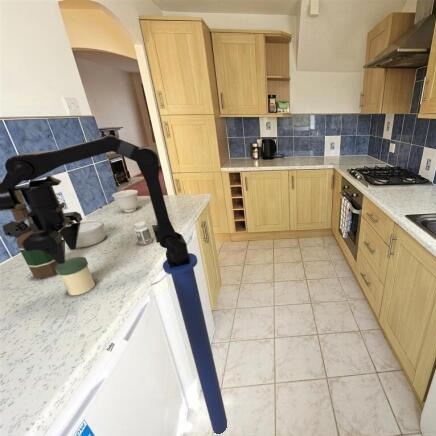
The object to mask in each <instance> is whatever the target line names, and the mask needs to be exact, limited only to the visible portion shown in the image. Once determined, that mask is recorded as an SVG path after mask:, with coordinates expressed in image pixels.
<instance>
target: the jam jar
mask: <svg viewBox="0 0 436 436" xmlns="http://www.w3.org/2000/svg"><path fill="white" fill-rule="evenodd" d="M59 276H60V278H61V280H62V282H63V284H64V286H65V288H66V290H67V292H68V294H69V295H70V296H78V295H82V294H85V293H87V292H89V291H91V290H92V289H94V287H95V286H96V282H95V280H94V278H93V275H92V273H91V270H90V268H89V266H88V265H87V267H85V268H84V269H82V270H81V271H78V272H76V273H73V274H69V275H59Z"/></svg>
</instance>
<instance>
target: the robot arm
mask: <svg viewBox="0 0 436 436" xmlns="http://www.w3.org/2000/svg"><path fill="white" fill-rule="evenodd" d="M112 152H113V153H115V154H117V155H119V156H122V157H124V158H126V159H128V160H131V161H134V162H135V163H136V165H137V167H138V169H139V171H140V172H141V175H142V177H143V178H144V181H145V184H146V188H147V191H148V196H149V198H150V202H151V206H152V210H153V213H154V217H155V219H156V220H155V221H156V222H155V224H153V225H151V228H152V231H153V234H154V238H155V242H156V244H159V246H160V247H161V248H164V249H166V251H165V257H166V260H167V261H168V264H170V268H173V267H178V266H182V265H187V264H190V255H189V254H188V253H189V250H188V244H187V242H186V240H185V238H184V236H183V234H181V233H180V232H177V231H176V230H175V228H174V227H173V226H174V225H173V224H172V222H171V220H170V216H169V213H168V209H167V205H166V201H165V198H164V194H163V189H162V185H161V182H160V162H159V156H158V154H157V153H156V152H155V150H153V149H152V148H151V147H148V146H137V145H135V144H133V143H131V142H128V141H125V140H123V139H120V138H118V137H117V136H115V135H112V134H108V135H105V136H104V137H100V138H97V139H94V140H89V141H86V142H81V143H78V144H77V143H76V144H74V145H70V146H65V147H63V148H57V149H55V150H41V151H31V152H23V153H19V154H15V155H14V156H11V157H9V158H8V159H6V162H5V164H4V166H5V170H6V174H5V176H4V178H3V179H2V181H0V212H3V211H11V209H18V208H19V207H20V204H23V203H25V204H26V205H27V207H28V211H29V212H27V214H26V216H27V217H25V218H23V219H21V220H19V221H17V222H16V221H15V220H11V221H10V222H8V223H4V224H3V225H2V226H1V227H2V231H3V233H4V236H6V237H11V238H14V239H17V238H18V237H20V236H21V235H23V234H25V233H27V232H29V231H31V230H32V231H33V232H39V231H43V232H41V233H34V234H31V235H30V236H28V237H27V238H26V239H25V240H24V241H23V242H22V243H21V245H22V247H23V249H24V251H32V250H40V251H43V252H45V253H46V254H48V255H49V256H50V257H51V258H53V259H54V260H55V261H56V262H57V263H59V264H64V263H65V260H66V245H67V247H68V249H70V250H71V251H75V250H76V249H77V247H76V245H77V239H78V233H79V228H80V225H81V223H80V222H82V220H83V217H82V214H81V213H80V212H78V211H70V212H64V210H63V209H64V208H65V206H66V205H65V204H64V203H60V200H59V199H58V196H57V194H56V192H55V189H54V188H53V187H54V186H55V187H56V186H59V185H60V184H61V183H62V180H61V179H59V178H55V177H54V176H52V175H51V174H48V173H50V172H52V171H53V170H56V169H58V168H60V167H62V166H65V165H68V164H72V163H75V162H79V161H83V160H87V159H89V158H90V159H91V158H93V157H98V156H100V155H104V154H107V153H112ZM45 174H48V175H47V176H46V177H45V178H42V179H38V178H40V177H42V176H44V175H45ZM25 181H26V182H27V181H29V183H28V184H23V185H20V184H22V183H23V182H25Z"/></svg>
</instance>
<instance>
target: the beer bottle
mask: <svg viewBox="0 0 436 436" xmlns="http://www.w3.org/2000/svg"><path fill="white" fill-rule="evenodd" d="M27 207H28V205H27V203H26V202H24V203H23V204H20V207H19V208H18V209H11V210H10V211H11V213H12V216H13V218H14V222H17V221H19V220H21V219H23V218H25V217H27V216H26V214H27V212H29V211H30V210H29V209H28V208H27ZM41 232H43V231H39V232H33V231H32V230H31V231H29V232H27V233H25V234H23V235H21V236H20V237H18V238H16V245H17V248H18V250H19V252H20V253H21V255H22V257H23V259H24V261H25V264H27V267H28V268H29V270H30V272H31V273H32V276H33V277H34V278H36V279H47V278H49V277H53V276H56V275H58V274H57V272H56V270H55V267H56V266H57V265H58V264H59V263H57V262H56V261H55V260H54V259H53V258H51V257H50V256H49V255H48V254H46V253H45V252H43V251H40V250H32V251H24V249H23V247H22V245H21V243H22V242H23V241H24V240H25V239H26V238H27V237H28V236H30V235H31V234H34V233H41Z"/></svg>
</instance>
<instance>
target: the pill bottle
mask: <svg viewBox="0 0 436 436" xmlns="http://www.w3.org/2000/svg"><path fill="white" fill-rule="evenodd" d="M133 226H134V233H135V235H136V239H137V242H138V244H139V245H142V246H143V245H147V244H150V243H151V242H152V241H153V239H152V236H151V231H150V229H149V226H147V223H146V221H138V222H135V223H134V224H133Z"/></svg>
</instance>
